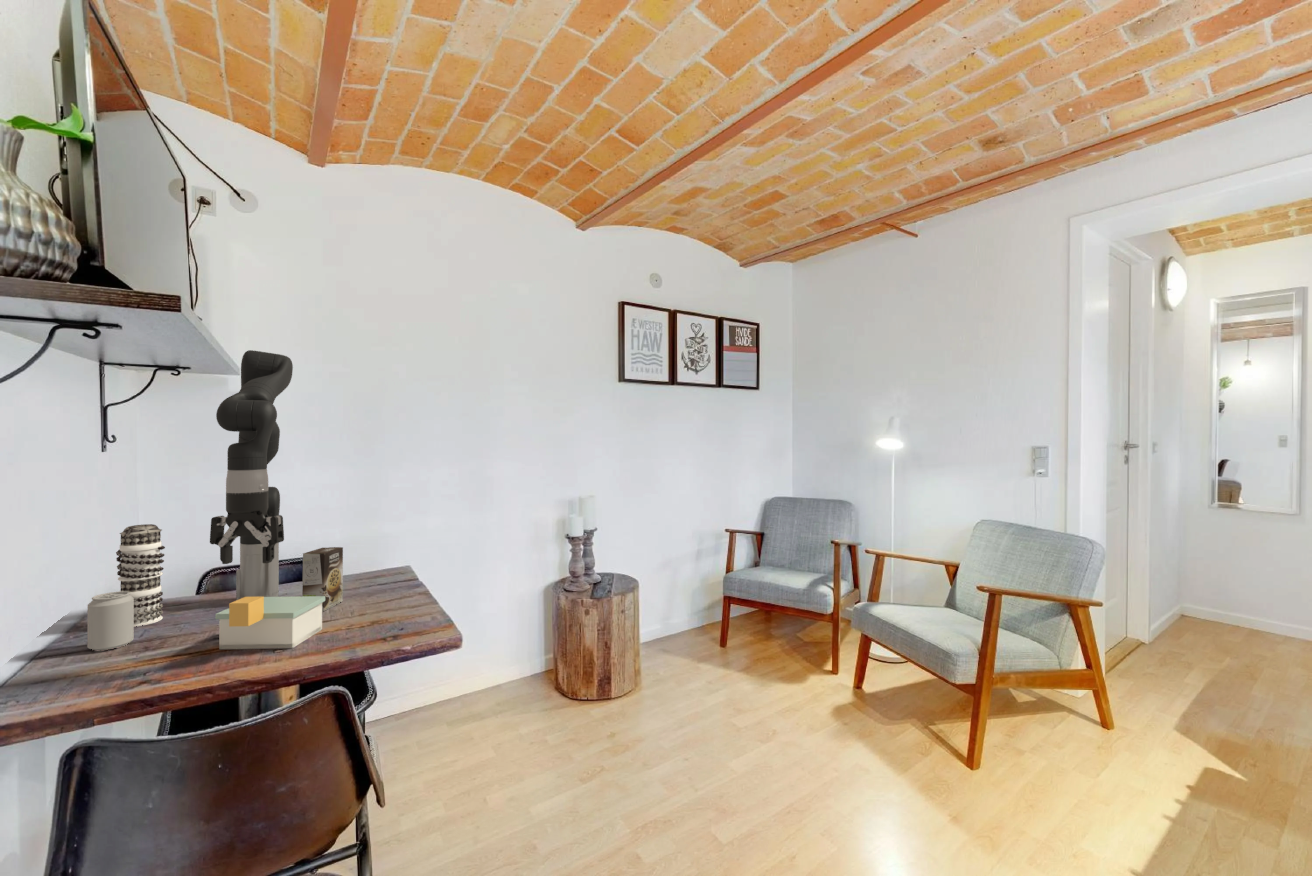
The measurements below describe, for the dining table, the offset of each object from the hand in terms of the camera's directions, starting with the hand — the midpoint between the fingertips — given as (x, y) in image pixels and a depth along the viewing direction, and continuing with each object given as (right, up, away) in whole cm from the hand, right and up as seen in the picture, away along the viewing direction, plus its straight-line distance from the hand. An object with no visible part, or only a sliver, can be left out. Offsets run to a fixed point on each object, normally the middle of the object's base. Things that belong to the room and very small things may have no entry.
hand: (247, 563), depth 120 cm
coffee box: (-4, -20, +34) cm, 40 cm away
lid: (0, -14, +7) cm, 15 cm away
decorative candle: (-43, -20, +21) cm, 52 cm away
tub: (-1, -20, +9) cm, 22 cm away
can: (-34, -20, +4) cm, 40 cm away
